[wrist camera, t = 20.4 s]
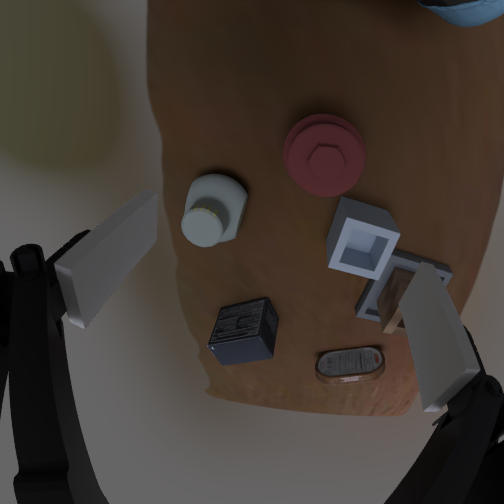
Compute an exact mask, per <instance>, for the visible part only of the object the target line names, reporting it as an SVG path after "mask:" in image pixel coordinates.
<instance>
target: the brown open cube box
mask: <svg viewBox="0 0 504 504" xmlns="http://www.w3.org/2000/svg"><path fill="white" fill-rule="evenodd" d="M415 273H416V272H412V271H409V270H405V269H402V268H398V267H394V269H393V271H392V273H391V275H390V277H389V279H388V280H387V282H386V284H385V286H384V288H383V290H382V292H381V294H380V295H379V297H378V299H377V301H376V302H377V307H378V312H379V317H380V321H381V326H382V332H384V333H389V334H394V335H399V336H404V337H408V336H407V333H406V329H405V325H404V321H403V318H402V314H401V311H400V307H399V304H398V303H399V301H400V300H401V298H402V296H403V295H404V293H405V291H406V289H407V288H408V286H409V284H410V282H411V280H412V279H413V277H414V275H415Z"/></svg>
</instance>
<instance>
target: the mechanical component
mask: <svg viewBox="0 0 504 504" xmlns="http://www.w3.org/2000/svg"><path fill="white" fill-rule="evenodd" d="M283 158H284V163H285V166H286V169H287V171H288V173H289V175H290V176H291V177H292V179H293V180H294V181H295V182H296V183H297V184H298V185H300V186H301V187H302V188H303V189H304V190H306V191H308V192H309V193H311V194H314V195H317V196H323V197H331V196H337V195H340V194H343V193H345V192H346V191H348V190H349V189H351V188H352V187H353V186H354V185H355V184H356V183H357V181H358V180H359V178H360V176H361V174H362V171H363V169H364V166H365V162H366V149H365V145H364V142H363V139H362V137H361V135H360V134H359V132H358V131H357V130H356V128H355V127H354V126H353V125H352V124H350V123H349V122H348V121H346V120H345V119H343V118H341V117H339V116H336V115H333V114H326V113H319V114H313V115H310V116H307V117H305V118H303V119H301V120H300V121H298V122H297V123H296V124H295V125H294V126H293V127H292V129H291V130H290V131H289V133H288V135H287V137H286V140H285V143H284V148H283Z"/></svg>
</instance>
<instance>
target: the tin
mask: <svg viewBox="0 0 504 504" xmlns="http://www.w3.org/2000/svg"><path fill="white" fill-rule="evenodd" d="M384 370H385V357H384V355H383V353H382V352H381V351H380V350H379V349H377V348H374V347H358V348H350V349H341V350H332V351H328V352H326V353H324V354H322V355H321V356H320V357H319V358H318V359H317V361H316V364H315V371H316V372H315V374H316V377H317V379H318V380H319V381H320V382H321V383H323V384H325V385H329V386H335V385H346V384H356V383H365V382H371V381H374V380H376V379H378V378H379V377H380V376H381V375H382V374H383V372H384Z"/></svg>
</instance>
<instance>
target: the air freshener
mask: <svg viewBox="0 0 504 504" xmlns="http://www.w3.org/2000/svg"><path fill="white" fill-rule="evenodd" d="M247 197H248V194H247V193H246V191H245V189H244V188H243V187H242V186H241V185H240V184H239V183H238V182H237V181H235V180H234V179H232V178H230V177H228V176H225V175H222V174H207V175H203V176H201V177H198V178H197V179H195V180H194V181H193V183H192V184H191V187H190V190H189V193H188V197H187V201H186V206H185V215H184V216H183V219H182V223H181V226H182V231H183V233H184V235H185V237H186V238H187V239H188V240H189V241H191V243H193V244H195V245H197V246H202V247H207V246H209V247H211V246H213V245H215V244H217V243H218V242H224V241H229V240H232V239H234V238H236V236H237V234H238V231H239V228H240V225H241V221H242V218H243V214H244V211H245V207H246V202H247Z"/></svg>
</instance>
